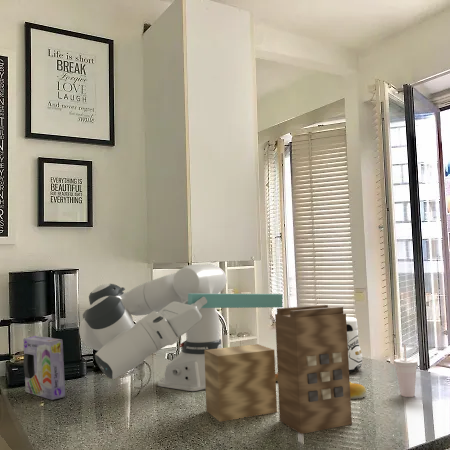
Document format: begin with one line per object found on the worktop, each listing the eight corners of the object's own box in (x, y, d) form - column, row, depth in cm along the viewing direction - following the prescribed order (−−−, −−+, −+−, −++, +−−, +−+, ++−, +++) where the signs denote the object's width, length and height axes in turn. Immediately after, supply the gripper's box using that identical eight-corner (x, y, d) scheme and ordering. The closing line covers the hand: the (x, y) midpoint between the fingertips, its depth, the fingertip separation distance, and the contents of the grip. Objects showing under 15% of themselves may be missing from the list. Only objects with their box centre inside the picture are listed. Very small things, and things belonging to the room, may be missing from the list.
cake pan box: (22, 391, 153) (21, 336, 154) (37, 388, 157) (36, 334, 158) (50, 402, 140) (50, 341, 142) (66, 398, 144) (65, 339, 145)
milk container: (369, 375, 159) (366, 321, 160) (317, 376, 159) (314, 322, 160) (355, 364, 176) (353, 315, 177) (309, 365, 176) (306, 316, 178)
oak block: (220, 421, 117) (217, 356, 119) (206, 410, 126) (204, 349, 128) (277, 412, 123) (274, 349, 125) (260, 402, 133) (257, 344, 134)
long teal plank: (191, 308, 120) (192, 294, 120) (187, 307, 123) (188, 293, 124) (282, 307, 130) (282, 294, 130) (276, 306, 133) (276, 293, 133)
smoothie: (420, 393, 136) (417, 343, 137) (419, 399, 130) (415, 347, 131) (396, 391, 139) (393, 342, 140) (394, 397, 133) (391, 346, 134)
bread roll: (356, 401, 131) (355, 387, 131) (329, 395, 137) (329, 381, 138) (372, 395, 136) (371, 381, 136) (346, 390, 143) (345, 376, 143)
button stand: (302, 434, 107) (296, 311, 109) (279, 420, 116) (274, 308, 119) (353, 424, 112) (347, 307, 114) (327, 412, 122) (322, 304, 124)
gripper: (154, 334, 128) (195, 305, 133) (175, 345, 109) (222, 311, 114) (142, 315, 127) (184, 287, 132) (161, 322, 109) (209, 289, 114)
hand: (202, 298), depth 123 cm, fingers closed on long teal plank, 3 cm apart
